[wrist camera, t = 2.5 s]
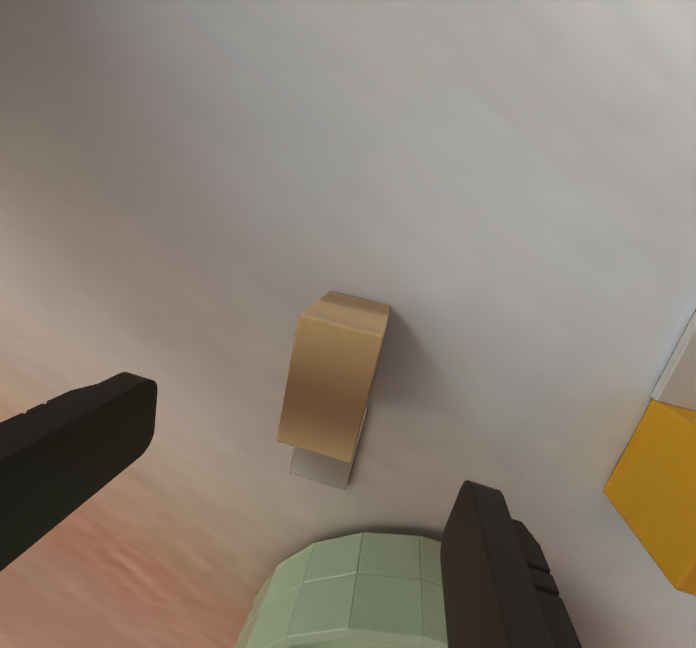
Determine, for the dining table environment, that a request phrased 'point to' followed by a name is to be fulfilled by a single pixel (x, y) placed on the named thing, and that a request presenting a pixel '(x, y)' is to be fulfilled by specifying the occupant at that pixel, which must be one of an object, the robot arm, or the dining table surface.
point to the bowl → (352, 596)
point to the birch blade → (331, 384)
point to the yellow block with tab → (664, 470)
